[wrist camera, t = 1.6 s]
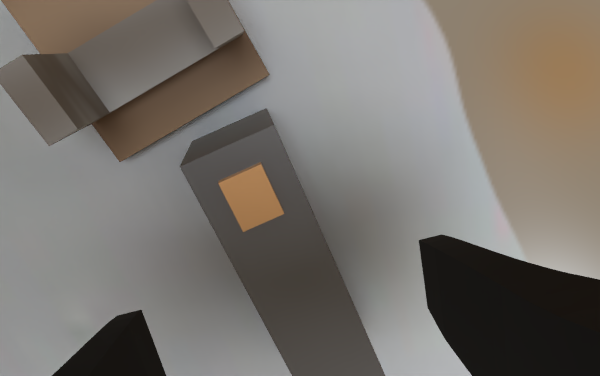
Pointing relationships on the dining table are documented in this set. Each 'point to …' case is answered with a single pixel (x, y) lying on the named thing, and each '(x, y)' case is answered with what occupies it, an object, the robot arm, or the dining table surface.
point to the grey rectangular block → (278, 248)
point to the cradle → (127, 66)
